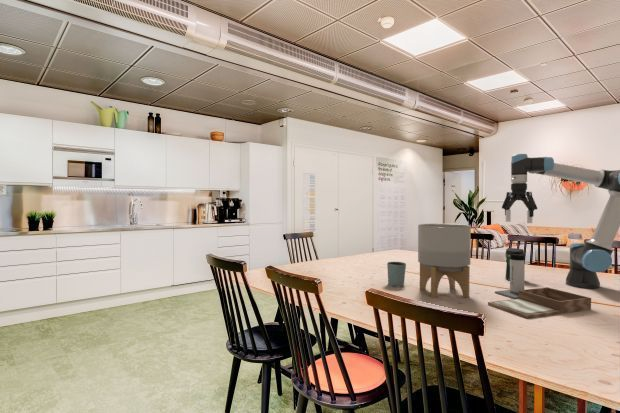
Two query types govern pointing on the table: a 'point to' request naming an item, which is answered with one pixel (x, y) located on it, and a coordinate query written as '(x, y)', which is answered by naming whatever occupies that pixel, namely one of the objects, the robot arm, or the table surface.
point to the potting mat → (508, 294)
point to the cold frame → (543, 303)
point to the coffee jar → (508, 251)
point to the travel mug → (517, 272)
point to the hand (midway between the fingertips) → (518, 222)
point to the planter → (444, 255)
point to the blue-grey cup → (396, 273)
